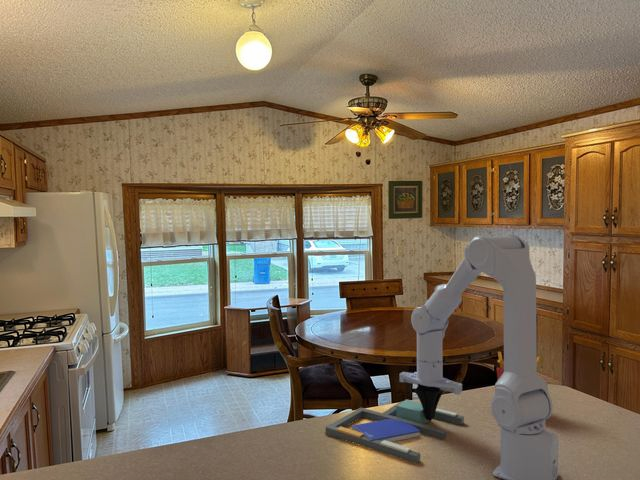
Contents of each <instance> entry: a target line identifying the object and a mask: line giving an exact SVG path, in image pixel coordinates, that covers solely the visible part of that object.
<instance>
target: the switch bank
mask: <svg viewBox="0 0 640 480" xmlns="http://www.w3.org/2000/svg"><path fill="white" fill-rule="evenodd" d="M403 401H404V400H401V401H400V402H398V403H396V404H394V405H393V406H390V408H388V409H387V410H385V411H383V412H382V413H383V414H387V415H391V416H394V417H396V406H397V405H398V404H400V403H402V402H403ZM464 417H465V416H464V415H460V414H458V412H453V411H450V410H446V409H442V408H438V407H437V408H436V411H435V417H434V418H433V419H436V420H439V421H440V420H441V421H445V422H446V423H447V422H448V423H452V424H455V425H460V426H462V425H464V423H465V418H464Z"/></svg>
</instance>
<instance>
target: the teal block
mask: <svg viewBox="0 0 640 480" xmlns="http://www.w3.org/2000/svg"><path fill="white" fill-rule="evenodd" d="M402 401H403V402H402V403H400V402H399V403H400V404H398V403H397V404H398V405H397V406H396V416H395V417H400V418H402V419H405V420H409V421H413V422H416V423H420V424H424V425H426V423H427V422H428V421H430V420H427V419H425V414H424V411H423V407H422V404H421V402H418V401H416V400H415V401H414V400H410V399H407V398H406V399H405V400H402Z"/></svg>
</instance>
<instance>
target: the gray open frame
mask: <svg viewBox="0 0 640 480" xmlns="http://www.w3.org/2000/svg"><path fill="white" fill-rule="evenodd" d="M361 417H362V418H365V417H366V418H365V419H368V418H369V419H368V420H372V419H373V420H372V421H375V420H376V421H381V420H387V419H393V420H397V421H400V422H404V423H407V424H410V425H412V426H414V427H416V428H417V429H419V431H420V435H425V436H427V437H431V438H435V439H439V440H442V441H445V439H447V437H448V434H447V433H448V431H447V430H445V429H441V428H438V427H434V426H430V425H427V424H420V423H416V422H413V421H409V420H405V419H402V418H398V417H396V416H395V417H394V416H391V415H387V414H383V412H379V411H376V410H371V409H367V408H365V407H359V408H357V409H355V410H353V411H351V412H350V413H348V414H346V415H345V416H343V417H341V418H339V419H336V420H335V421H334V422H332V423H330V424H329V425H327V426H325V435H328V436H330V437H331V436H332V437H334V438H337V439H341V440H343V439H344V440H343V441H346V440H347V441H346V442H349V441H350V443H352V442H354V443H353V444H355V443H356V444H355V445H358V444H359V445H358V446H362V447H364V448H367V449H371V450H374V451H377V452H380V453H383V454H386V455H389V456H392V457H395V458H398V459H401V460H404V461H406V462H410V463H413V464H418V463H419V462H421V453H420V452H417V451H414V450H412V448H411V447H408V446H405V445H402V444H399V443H396V442H394V441H393V442H389V441H386V440H384V441H380V440H374V441H370V440H368V439H367V438H366V437H365V436H363V435H364V433H360V432H357V431H354V430H351V429H350V428H348V426H350V425H352V424H353V423H355V422H356V421H355V420H357V419H358V420H360V419H361ZM359 418H360V419H359ZM358 420H357V421H358ZM354 421H355V422H354ZM352 422H353V423H352ZM351 423H352V424H351ZM349 424H350V425H349Z"/></svg>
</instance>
